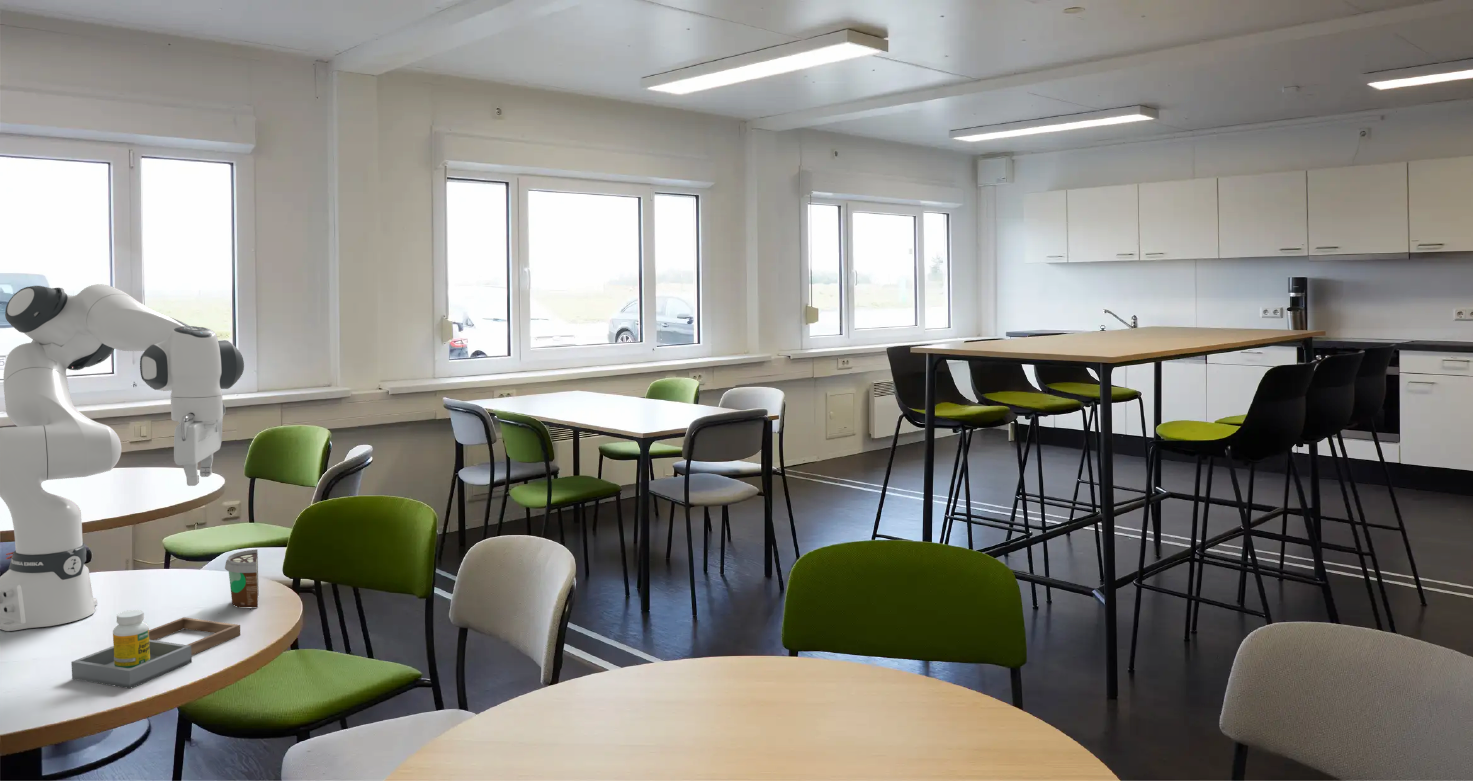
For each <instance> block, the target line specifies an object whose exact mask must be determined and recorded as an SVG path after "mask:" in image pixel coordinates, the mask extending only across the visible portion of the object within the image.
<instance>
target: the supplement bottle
mask: <svg viewBox="0 0 1473 781" xmlns="http://www.w3.org/2000/svg"><path fill="white" fill-rule="evenodd" d="M144 618H145V613H144V610H140V609H132V610H126V611H125V610H124V611H122V612H120V613H118V614H116V623H117V625H116V626H115V627H114V628H113V630H112V639H113V640H112V642H113V643H112V645H113V646H114V665H115V666H116V667H122V668H128V669H131V668H133V667H135V666H138V665H140V664H143V663H145V662H148V661H150V644H149V630H150V626H149V625H148V623H147V622H145V621H144Z"/></svg>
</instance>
